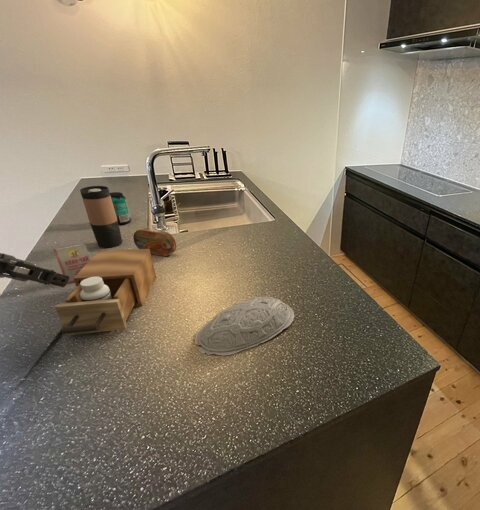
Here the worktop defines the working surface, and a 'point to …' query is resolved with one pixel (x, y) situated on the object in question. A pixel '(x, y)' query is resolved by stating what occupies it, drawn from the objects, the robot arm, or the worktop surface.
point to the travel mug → (102, 216)
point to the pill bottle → (94, 290)
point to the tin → (155, 241)
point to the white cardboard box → (72, 260)
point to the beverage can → (120, 208)
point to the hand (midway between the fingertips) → (49, 277)
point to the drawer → (98, 309)
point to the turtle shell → (244, 326)
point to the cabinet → (122, 269)
